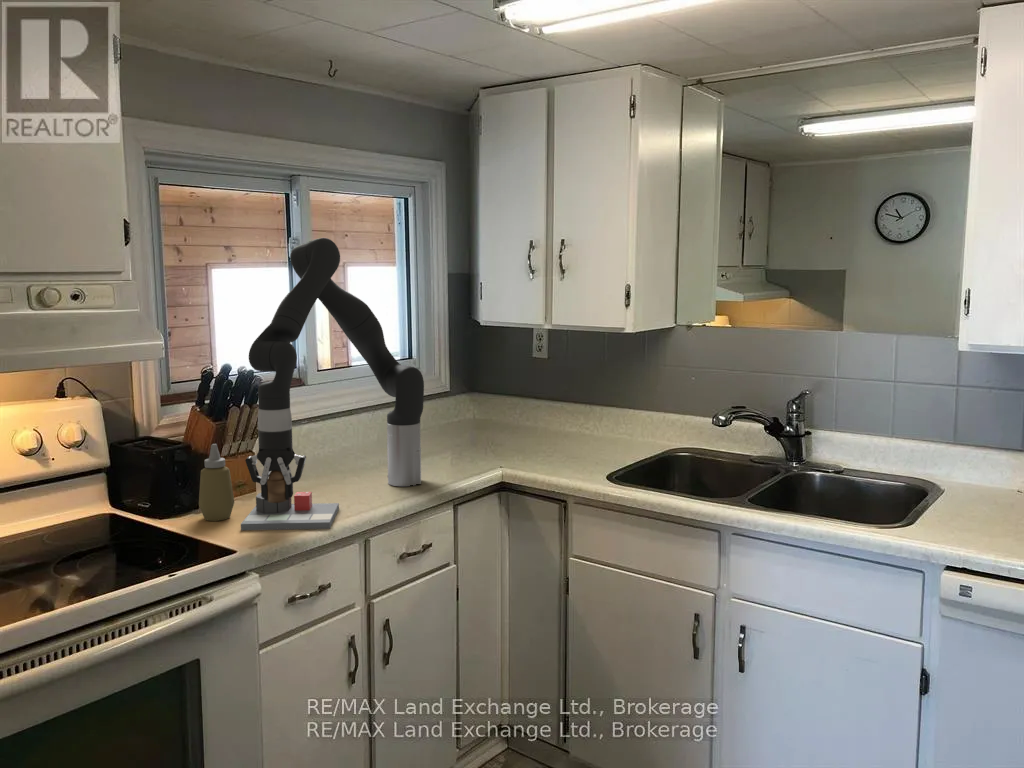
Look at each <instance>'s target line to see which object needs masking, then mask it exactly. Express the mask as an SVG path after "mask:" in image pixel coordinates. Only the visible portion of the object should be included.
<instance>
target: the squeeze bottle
mask: <svg viewBox="0 0 1024 768" xmlns="http://www.w3.org/2000/svg"><path fill="white" fill-rule="evenodd" d="M232 483H233V482H232V478H231V471H230V468H229V467H227V466H226V459H225V458H224V457H221V454H220V451H219V448H218V444H217V443H212V444H211V445H210V450H209V456H208V458H206V459H204V468H202V469H201V470H200V480H199V494H198V506H199V509H200V512H201V514H202V516H203V518H204V520H205V521H208V522H209V521H210V522H218V521H224V520H227V519H229V518H230V517H231V515H232V512H233V508H234V505H235V498H234V491H233V484H232Z"/></svg>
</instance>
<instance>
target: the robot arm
mask: <svg viewBox="0 0 1024 768" xmlns="http://www.w3.org/2000/svg"><path fill="white" fill-rule="evenodd" d="M289 255H290V256H289V258H290V259H289V261H290V263H291V266H292V268H293V270H294V272H295V274H296V275H297V276H298V277H299V279H300V280H299V281H298V282H297V283H296V284H295V286H293V288H292V289H290V291H289V292H288V293H287V294H286V295H285V297H284V298H283V299H282V300H281V302H280V304H279V305H278V307H277V309H276V311H275V312H274V315H273V318H272V320H271V322H270V323H269V325H268V326H266V327H265V328H264V329H263V331H262V332H261V333H260V334H259V335H258V337H256V338H255V340H254V341H253V343H252V344H251V346H250V348H249V351H248V362H249V365H250V367H252V369H254V370H255V371H257V372H268V373H269V372H270V373H272V372H273V373H275V375H274V378H273V379H272V380H271V381H265V382H262V383H261V384H259V385H258V389H257V396H258V397H257V399H258V401H257V402H258V414H257V430H258V431H257V435H258V437H257V438H258V452H257V453H256V455H255V454H254V455H249V456H247V457H246V458H245V460H244V462H245V465H246V467H247V469H248V473H249V476H250V478H251V481H252V482H253V483H257V484H260V493H261V496H262V498H264V500H268V496H267V479H269V474H270V472H271V471H274V470H277V471H282V474H283V476H284V478H285V481H286V485H285V490H286V500H290V497H291V498H292V497H294V496H293V495H294V483H298V482H299V481H300V480H301V478H302V473H303V471H304V467H305V464H306V462H307V456H306V455H305V454H303V455H299V454H296V453H295V451H294V448H293V421H292V413H291V394H290V393H291V392H290V391H291V386H292V382H293V377H294V372H295V369H296V366H297V359H298V356H297V355H298V354H297V351H296V348H295V346H294V345H293V344H292V343H294V342H295V341H297V340H298V339H299V336H300V334H301V333H302V331H303V328H304V326H305V324H306V321H307V318H308V317H309V315H310V312H311V310H312V308H313V307H314V305H315V303H316V302H317V300H319V301H320V302H321V303H322V305H323V306H324V307H325V309H326V310H327V311H328V313H330V315H331V316H332V318H333V319H334V321H336V324H338V326H339V328H340V330H341V331H342V332H343V333H344V335H345V336H346V337H347V339H348V340H349V342H351V344H352V346H354V348H355V349H356V350H357V352H358V353H359V354H360V355H361V357H362V358H363V360H364V361H365V362H366V363H367V365H368V366H369V368H370V370H371V372H372V374H374V376H375V378H376V380H377V382H378V383H379V385H380V387H381V388H382V390H383V391H384V393H385V394H387V395H388V396H390V397H392V398H395V403H394V408H393V410H391V411H389V412H387V415H386V431H387V432H386V435H387V439H386V440H387V443H386V444H387V448H386V449H387V484H388V485H389V486H395V487H411V486H410V485H413V486H417V485H416V484H421V485H422V447H421V446H422V445H421V416H422V414H423V411H424V400H425V399H424V397H425V395H424V394H425V381H424V376H423V374H422V372H421V371H420V370H419V368H417V367H415V366H412V365H411V366H410V365H404V364H403V365H402V364H401V363H399V361H397V360H396V358H395V357H394V355H393V354H392V353H391V351H390V350H389V348H388V347H387V344H386V341H385V335H384V331H383V327H382V324H381V323H380V321H379V319H378V318H377V317H376V315H375V314H374V312H373V310H372V309H371V308H370V307H369V305H367V303H365V301H363V300H362V299H360V298H359V297H357V296H356V295H353V294H352V293H350V292H349V291H347V290H345V289H344V288H343V287H340V286H339V285H338V284H337V283H335V282H334V280H333V279H332V277H333V276H334V275H335V273H336V272H337V270H338V269H339V266H340V263H341V253H340V250H339V248H338V245H337V244H336V243H335V242H334V241H333V240H332V239H330V238H328V237H320V238H316V239H312V240H310V241H306V242H304V243H301V244H298V245H297V246H295V247H293V248H292V249H291V251H290V254H289ZM293 460H294V461H295V465H296V470H295V473H294V476H293V475H292V471H291V466H290V465H291V463H292V461H293ZM258 461H259V463H261V465H262V467H263V469H262V473H261V476H260V474H259V471H258V467H257V464H258Z"/></svg>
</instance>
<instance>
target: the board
mask: <svg viewBox="0 0 1024 768" xmlns="http://www.w3.org/2000/svg"><path fill="white" fill-rule="evenodd" d="M339 510H340V504H339V502H337V503H336V502H333V503H331V502H328V503H325V502H324V503H323V502H322V503H320V502H319V503H312V507H311V509H310V510H295V509H294V503H292V497H290V500H287V501H285V502H280V503H270V502H268V500H264V498H262V496H261V492H258V493H257V494H256V496H255V506H254V507H253V508H252V510H251V511H250V513H249V514H247V516H246V517H245V518H244V519H243V520H242V521H241V523H240V531H267V530H268V531H271V530H272V531H274V530H321V529H322V530H325V529H326V530H327V529H331V526H332V525H333V523H334V521H335V519H336V516H337V514H338V512H339Z"/></svg>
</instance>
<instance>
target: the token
mask: <svg viewBox="0 0 1024 768" xmlns="http://www.w3.org/2000/svg"><path fill="white" fill-rule="evenodd" d="M285 485H286V481H285V478H284V476H283V474H282V471H277V470H274V471H271V472H270V474H269V478H268V479H267V496H268V502H270V503H280V502H285V501H287V500H286V490H285Z"/></svg>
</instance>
